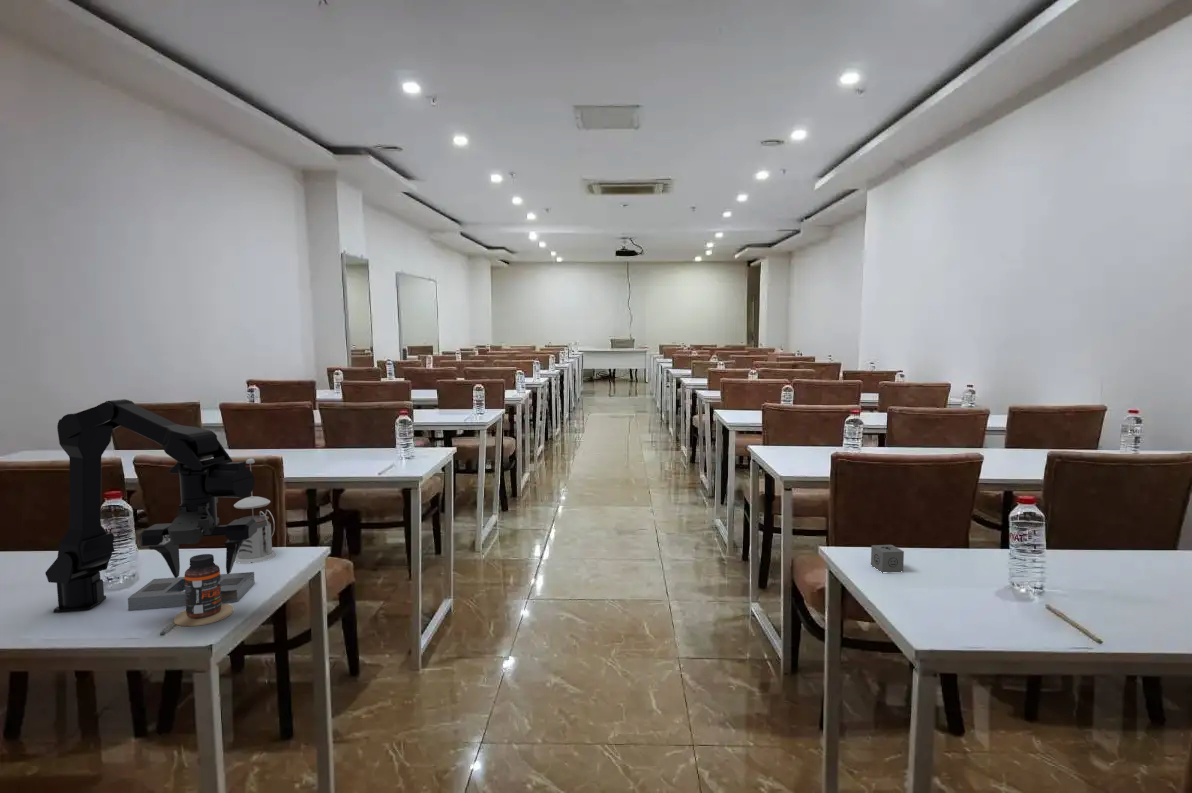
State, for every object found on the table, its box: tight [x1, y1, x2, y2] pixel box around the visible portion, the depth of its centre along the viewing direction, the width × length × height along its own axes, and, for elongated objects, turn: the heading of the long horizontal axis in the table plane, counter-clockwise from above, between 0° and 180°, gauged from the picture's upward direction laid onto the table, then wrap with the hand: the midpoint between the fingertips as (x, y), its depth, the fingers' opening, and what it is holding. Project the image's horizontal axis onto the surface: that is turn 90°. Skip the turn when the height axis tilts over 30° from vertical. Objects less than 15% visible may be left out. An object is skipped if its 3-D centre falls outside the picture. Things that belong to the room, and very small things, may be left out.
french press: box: [233, 458, 277, 564], centre depth 160 cm, size 10×12×25 cm
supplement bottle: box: [184, 553, 222, 618], centre depth 125 cm, size 6×6×11 cm
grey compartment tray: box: [127, 571, 256, 611], centre depth 136 cm, size 20×11×2 cm, turn 101°
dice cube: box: [870, 544, 905, 574], centre depth 149 cm, size 5×5×5 cm
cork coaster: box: [173, 603, 235, 627], centre depth 126 cm, size 10×10×1 cm
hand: (203, 575), depth 125 cm, fingers open, 9 cm apart
